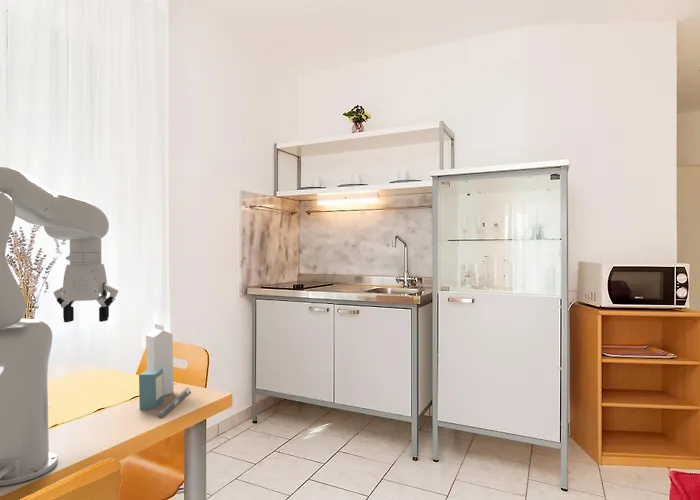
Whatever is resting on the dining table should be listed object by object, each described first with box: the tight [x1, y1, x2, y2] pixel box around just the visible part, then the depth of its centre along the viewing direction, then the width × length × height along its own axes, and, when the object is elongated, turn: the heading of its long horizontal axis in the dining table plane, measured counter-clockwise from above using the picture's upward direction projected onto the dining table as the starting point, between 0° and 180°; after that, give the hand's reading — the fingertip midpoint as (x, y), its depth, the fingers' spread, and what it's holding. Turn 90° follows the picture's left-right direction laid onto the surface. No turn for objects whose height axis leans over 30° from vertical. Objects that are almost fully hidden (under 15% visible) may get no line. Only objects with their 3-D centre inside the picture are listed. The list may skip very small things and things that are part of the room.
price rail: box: [158, 387, 191, 418], centre depth 131 cm, size 22×1×1 cm, turn 1°
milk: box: [145, 323, 174, 396], centre depth 141 cm, size 6×6×22 cm
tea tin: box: [138, 368, 165, 410], centre depth 130 cm, size 6×5×10 cm
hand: (86, 321), depth 121 cm, fingers open, 9 cm apart
